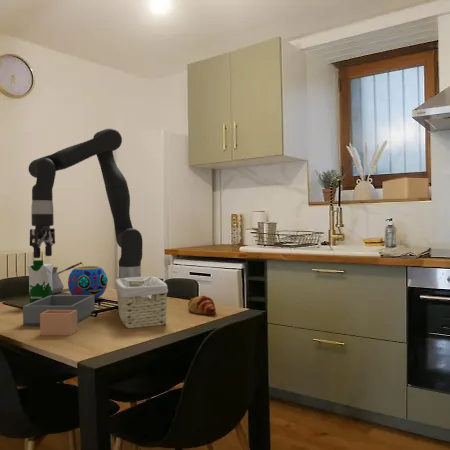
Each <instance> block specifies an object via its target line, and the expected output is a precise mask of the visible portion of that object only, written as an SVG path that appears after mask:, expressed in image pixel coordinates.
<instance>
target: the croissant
mask: <svg viewBox="0 0 450 450" xmlns="http://www.w3.org/2000/svg"><path fill="white" fill-rule="evenodd" d="M187 308H188V311H189V312H190V313H194V314H201V315H206V316H207V315H212V314H213V315H214V313H215V312H216V306H215V302H214V300H213V298H211V297H209V296H206V295H199V296H195V297H191V298H190V300H189V301H188V303H187Z"/></svg>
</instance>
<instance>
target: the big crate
mask: <svg viewBox="0 0 450 450" xmlns="http://www.w3.org/2000/svg"><path fill="white" fill-rule="evenodd" d="M95 305H96V304H95V299H94V295H72V294H68V295H67V294H62V295H60V294H53V295H50V296H47V297H45V298H42V299H40V300H37V301H35V302H32V303H30V302H29V303H28V304H25V305H23V306H22V327H40V314H41V313H43V312H45V311H47V310H77V324H79V323H80V322H82V321H83V320H85V319H87V318H89V317H90V316H91V312H92V311H94V310H95V307H96V306H95ZM95 311H96V310H95Z"/></svg>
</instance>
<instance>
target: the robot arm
mask: <svg viewBox="0 0 450 450" xmlns="http://www.w3.org/2000/svg"><path fill="white" fill-rule="evenodd" d="M122 142H123V139H122V135H121V133H120V132H119V131H118V130H117V129H115V128H105V129H102V130H99V131H97V132H96V133H95V134H94V135H93V138H91V139H89V140H86V141H83V142H80V143H76V144H74V145H71V146H68V147H65V148H62V149H60V150H58V151H56V152H53V153H52V154H48V155H45V156H42V157H40V158H36V159H35V160H32V161H31V162H30V163H29V165H28V172H29V175H31V176H32V177H33V178H35V179H36V181H35V182H36V183H35V184H34V185H33V186H32V190H31V226H33V227H35V228H30V229H29V246H30V247H32V248H33V258H34V259H40V258H41V246H42V243H44V245H45V249H44V252H45V253H44V254H45V256H46V257H51V256H52V255H53V245H55V244H56V234H55V233H56V232H55V230H56V229H55V228H54V227H53V226H54V203H53V201H54V200H53V198H54V197H53V188H54V186H55V185H54V184H55V179H56V173H57V172H58V171H62V170H66V169H68V168H70V167H73V166H74V165H77V164H80V163H81V162H83V161H86V160H89V158H91V157H94V156H96V157H97V160H98V163H99V166H100V171H101V175H102V179H103V183H104V188H105V193H106V197H107V200H108V203H109V204H108V205H109V209H110V212H111V215H112V219H113V224H114V233H115V240H116V243H117V246H119V247H120V249H121V250H120V257H119V260H118V278H132V277H142V271H141V270H142V269H141V268H142V267H141V266H142V259H143V235H142V233H141V232H140V231H139V230H138V229H137V228H134V227H133V225H132V220H131V214H130V212H131V211H130V209H131V208H130V207H131V195H130V191H129V190H130V189H129V185H128V181H127V179H126V178H125V176H124V175H123V173H122V171H121V170H120V168H119V167H118V166H117V164H116V159H115V156H114V151H117V150H118V149H120V147H121V145H122ZM51 227H53V228H51ZM141 286H143V284H133V285H132V284H131V285H130V287H141Z"/></svg>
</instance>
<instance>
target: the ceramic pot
mask: <svg viewBox="0 0 450 450" xmlns="http://www.w3.org/2000/svg"><path fill="white" fill-rule="evenodd" d="M67 287H68V290H69V292H70V295H94V300H95V299H98V298H100V297H101V296H103V294H104V293H105V292H106V289H107V287H108V276H107V274H106V272H105V270H104V269H103V268H102V267H101V266H98V265H97V266H96V265H93V266H92V265H88V266H87V265H86V266H84V265H83V266H76V267H74V268H72V270H71V271H70V273H69V276H68V280H67Z"/></svg>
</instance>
